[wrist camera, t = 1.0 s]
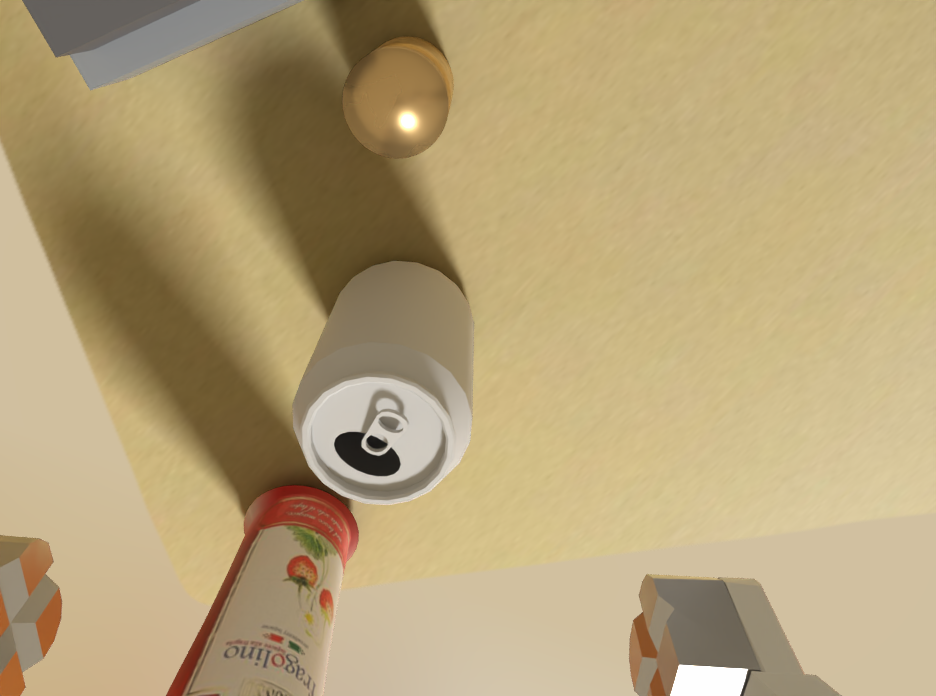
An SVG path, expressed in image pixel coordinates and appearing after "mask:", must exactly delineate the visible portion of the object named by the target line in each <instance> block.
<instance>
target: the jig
mask: <svg viewBox="0 0 936 696" xmlns="http://www.w3.org/2000/svg"><path fill="white" fill-rule="evenodd" d="M22 1H23V2H24V4H25V6H26V7H27V9H28V11H29V13H30V14H31V16H32V18H33V19H34V21H35V23H36V24H37V26H38V28H39V29H40V31H41V33H42V35H43V36H44V38H45V40H46V41H47V43H48V45H49V46H50V48H51V50H52V51H53V53H54V55H55V56H56V57H60V56H66V55H70V56H71V58H72V60H73V61H74V63H75V65H76V67H77V68H78V70H79V72H80V74H81V75H82V77H83V79H84V80H85V82H86V84H87V86H88V87H89V89H90V90H93V89H97V88H100V87H103V86H107V85H110V84H113V83H117V82H120V81H123V80H127V79H130V78H132V77H134V76H137V75H139V74H141V73H143V72H146V71H148V70H150V69H152V68H154V67H157V66H159V65H161V64H163V63H166V62H168V61H170V60H172V59H174V58H177V57H179V56H181V55H183V54H186V53H188V52H190V51H192V50H194V49H197V48H199V47H201V46H203V45H206V44H208V43H210V42H212V41H214V40H217V39H219V38H221V37H223V36H226V35H228V34H230V33H232V32H234V31H237V30H239V29H241V28H243V27H246V26H248V25H250V24H252V23H254V22H257V21H259V20H261V19H263V18H266V17H268V16H270V15H272V14H274V13H277V12H279V11H281V10H283V9H286V8H288V7H290V6H292V5H294V4H297V3H299V2H301V1H303V0H22Z"/></svg>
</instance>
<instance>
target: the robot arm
mask: <svg viewBox="0 0 936 696" xmlns="http://www.w3.org/2000/svg"><path fill="white" fill-rule="evenodd" d="M53 562H54V561H53V557H52V553H51V550H50V546H49V543H48V542H46V541H44V540H42V539H39V538H27V537H14V536H3V535H0V696H20V695H21V694H22V692H23V691H24V689H25V688H26V686H25V682H24V677H23V672H24V671H25V670H27V669H28V668H30V667H32V666H33V665H35V664H36V663H38V662H39V661H41V660H42V659H43V658H44V657H45V655H46V654H47V652H48V650H49V649H50V647H51V645H52V644H53V642H54V640H55V637H56V634H57V630H58V627H59V624H60V621H61V614H62V599H61V594H60V588H59V586H58V585H56V584H55V583H54V582H53V581H52V580H51V579H50V578H49V577H48V576H47V575H46V572H47V571H48V569H49V568H50V566H51V565H52V564H53ZM639 598H640V602H641V606H642V610H643V612H642V613H641V614H640V615H639V616H637V617H636V618H635V619H634V620H633V624H632V629H631V634H630V648H629V662H630V671H631V677H632V682H633V687H634V691H635V692H636V693H637V694H638V695H639V696H842V695H840V694H839V693H838V692H837V691H835V690H834V689H833V688H831V687H830V686H829V685H828V684H826V683H825V682H824V681H823V680H821V679H820V678H819V677H818V676H816V675H807V674H806V675H805V674H804V672H803V670H802V667H801V666H800V663H799V661H798V659H797V658H796V655H795V653H794V651H793V649H792V647H791V645H790V643H789V641H788V639H787V637H786V635H785V633H784V631H783V629H782V627H781V625H780V623H779V621H778V619H777V616H776V615H775V613H774V610H773V608H772V606H771V604H770V602H769V600H768V598H767V596H766V594H765V592H764V590H763V588H762V586H761V584H760V583H759V582H757V581H756V580H755V579H744V578H721V577H720V578H709V577H690V576H671V575H652V574H650V575H649V574H647V575H646V576H645V578H644V580H643V582H642V585H641V589H640V593H639Z"/></svg>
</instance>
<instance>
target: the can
mask: <svg viewBox="0 0 936 696" xmlns="http://www.w3.org/2000/svg"><path fill="white" fill-rule="evenodd" d="M473 355H474V321H473V317H472V313H471V309H470V306H469V303H468V301H467V300H466V298H465V297H464V295H463V294H462V292H461V291H460V289H459V288H458V286H457V285H456V284H455V283H454V282H452V281H451V280H450V279H449V278H447V277H446V276H445V275H444V274H442V273H441V272H440V271H438V270H435V269H433V268H430V267H428V266H425V265H423V264H420V263H417V262H404V261H391V262H387V263H382V264H378V265H373V266H371V267H369V268H368V269H366V270H364V271H363V272H361V273H359V274H357V275H356V276H354V277H353V278H352V279H351V280H350V282H349V283H348V284H347V285H346V286H345V287H344V289H343V290H342V291H341V292H340V294H339V296H338V298H337V300H336V303H335V305H334V307H333V309H332V312H331V314H330V316H329V319H328V321H327V323H326V325H325V328H324V330H323V332H322V334H321V337H320V339H319V341H318V343H317V346H316V348H315V350H314V353H313V355H312V357H311V359H310V362H309V364H308V366H307V368H306V371H305V373H304V375H303V377H302V380H301V382H300V385H299V388H298V390H297V393H296V396H295V399H294V402H293V429H294V431H295V434H296V436H297V439H298V441H299V444H300V446H301V449H302V451H303V454H304V456H305V459H306V461H307V464H308V466H309V467H310V469H311V470H312V471H313V472H314V473H315V475H316V476H317V477H318V478H319V479H320V480H321V482H322V483H323V484H325V485H326V486H328V487H329V488H331V489H332V490H334V491H335V492H337V493H338V494H340V495H341V496H344V497H347V498H350V499H353V500H356V501H359V502H362V503H365V504H379V505H391V504H397V503H402V502H407V501H411V500H413V499H415V498H417V497H419V496H421V495H423V494H425V493H428V492H430V491H431V490H432V489H433V488H434V487H435V486H436V485H437V484H438V483H439V482H440V481H441V480H442V479H443V478H444V477H445V476H446V475H447V474H448V473H449V472H450V471H452V470H453V469H454V468H455V467H456V466H457V465H458V464H459V463H460V461H461V459H462V457H463V455H464V453H465V451H466V449H467V447H468V445H469V443H470V436H471V426H472V406H473Z"/></svg>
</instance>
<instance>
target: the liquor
mask: <svg viewBox="0 0 936 696" xmlns="http://www.w3.org/2000/svg"><path fill="white" fill-rule="evenodd" d="M244 533H245V537H244V539H243V541H242V543H241V546H240V548H239V550H238V552H237V554H236V556H235V559H234V561H233V563H232V565H231V567H230V570H229V572H228V574H227V576H226V578H225V580H224V582H223V584H222V586H221V588H220V590H219V593H218V595H217V597H216V599H215V601H214V603H213V605H212V607H211V609H210V611H209V613H208V616H207V617H206V619H205V622H204V623H203V625H202V627H201V629H200V631H199V633H198V635H197V637H196V639H195V641H194V642H193V644H192V646H191V648H190V650H189V652H188V654H187V656H186V658H185V660H184V662H183V664H182V665H181V667H180V669H179V671H178V673H177V675H176V677H175V679H174V681H173V683H172V685H171V687H170V689H169V691H168V693H167V695H166V696H323V693H324V686H325V679H326V672H327V665H328V658H329V652H330V646H331V640H332V634H333V628H334V623H335V617H336V612H337V606H338V600H339V595H340V590H341V585H342V579H343V574H344V569H345V564H346V562H347V561H348V560H349V559H350V558H351V557H352V555H353V553H354V552H355V550H356V548H357V544H358V536H359V531H358V527H357V523H356V521H355V519H354V517H353V515H352V513H351V512H350V511H349V509H348V508H347V507H346V506H345V505H344V504H343V503H342V502H341V501H340V500H338V499H337V498H335V497H334V496H332V495H330V494H329V493H327V492H324V491H322V490H319V489H316V488H312V487H308V486H298V485H291V486H282V487H278V488H275V489H271V490H269V491H267V492H265V493H263V494H262V495H260V496H259V497H258V498H257V499H255V500H254V502H253V503H252V504H251V505H250V506H249V508H248V510H247V513H246V515H245V519H244Z"/></svg>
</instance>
